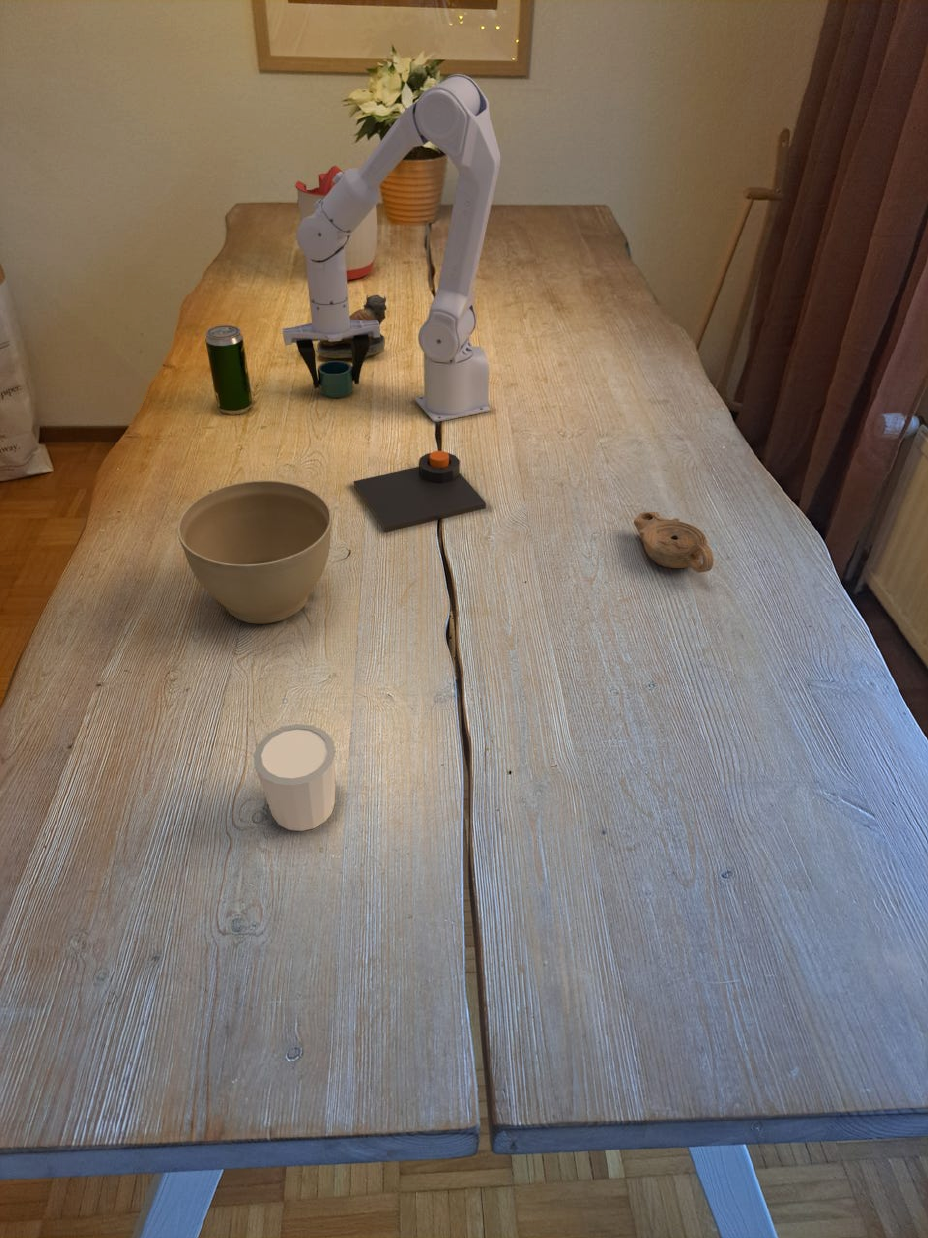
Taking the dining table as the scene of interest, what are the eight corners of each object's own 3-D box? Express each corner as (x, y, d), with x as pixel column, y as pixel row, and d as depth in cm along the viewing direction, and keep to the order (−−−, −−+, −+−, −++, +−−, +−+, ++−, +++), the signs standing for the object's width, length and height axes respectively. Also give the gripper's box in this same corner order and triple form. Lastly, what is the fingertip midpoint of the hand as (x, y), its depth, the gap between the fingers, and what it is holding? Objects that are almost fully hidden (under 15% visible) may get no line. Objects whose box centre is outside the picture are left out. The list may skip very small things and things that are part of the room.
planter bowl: (218, 663, 95) (200, 581, 88) (179, 579, 106) (161, 500, 99) (360, 619, 101) (354, 538, 94) (310, 544, 112) (301, 467, 105)
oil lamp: (617, 536, 114) (622, 502, 111) (667, 523, 116) (674, 490, 113) (675, 596, 105) (682, 561, 102) (729, 581, 107) (737, 546, 104)
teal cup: (347, 381, 147) (345, 358, 144) (358, 395, 143) (356, 371, 140) (315, 387, 145) (313, 363, 142) (326, 401, 141) (323, 377, 139)
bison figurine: (318, 365, 151) (312, 305, 145) (317, 348, 157) (312, 289, 150) (390, 362, 153) (387, 303, 146) (387, 345, 158) (384, 287, 151)
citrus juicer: (333, 252, 195) (325, 150, 182) (396, 269, 187) (392, 163, 174) (281, 272, 185) (269, 165, 172) (345, 291, 177) (337, 181, 164)
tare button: (444, 457, 124) (444, 449, 123) (451, 466, 122) (451, 457, 122) (426, 461, 123) (426, 452, 122) (434, 470, 122) (434, 461, 121)
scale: (449, 464, 127) (449, 448, 125) (487, 508, 119) (488, 491, 117) (353, 485, 122) (351, 469, 121) (385, 533, 114) (384, 516, 112)
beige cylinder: (267, 777, 83) (256, 725, 79) (342, 773, 84) (336, 721, 79) (260, 839, 78) (249, 786, 74) (340, 834, 79) (334, 782, 74)
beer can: (225, 418, 137) (212, 341, 129) (212, 404, 140) (198, 329, 132) (258, 409, 139) (247, 333, 131) (244, 396, 142) (233, 321, 135)
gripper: (282, 311, 130) (292, 399, 139) (382, 303, 133) (386, 389, 141) (277, 293, 135) (287, 379, 144) (373, 286, 138) (378, 370, 147)
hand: (336, 383), depth 143 cm, fingers open, 6 cm apart
